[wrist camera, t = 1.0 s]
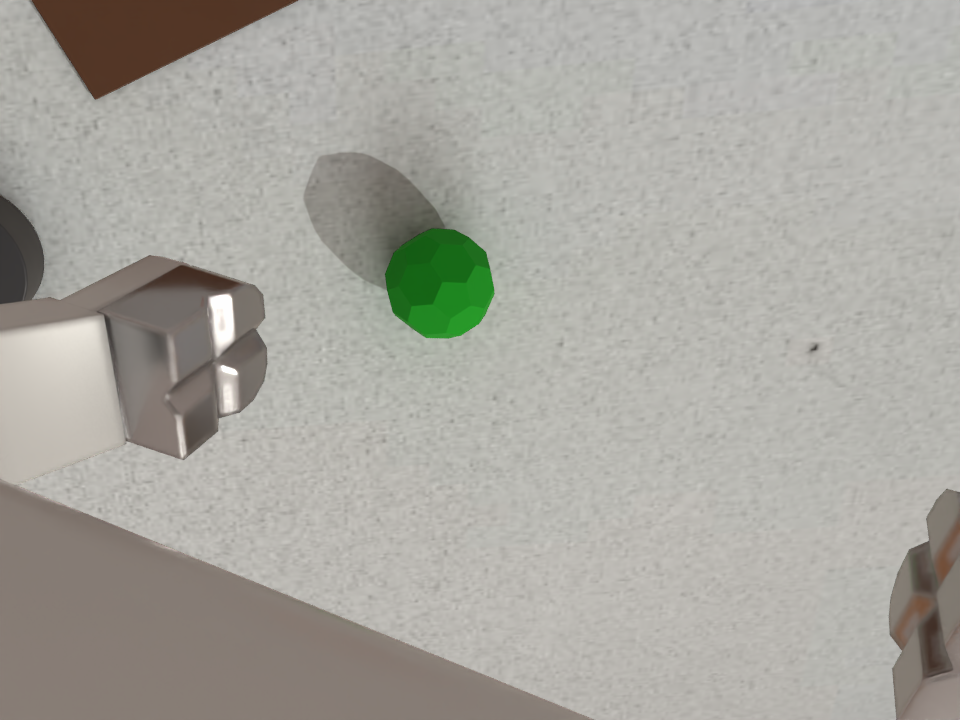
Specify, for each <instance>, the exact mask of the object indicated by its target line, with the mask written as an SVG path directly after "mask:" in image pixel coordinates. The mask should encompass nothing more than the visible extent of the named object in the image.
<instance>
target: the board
mask: <svg viewBox="0 0 960 720" xmlns="http://www.w3.org/2000/svg"><path fill="white" fill-rule="evenodd" d="M296 1H298V0H32V2H33V3H34V5H35V7H36V8H37V10H38V11H39V13H40V14H41V16H42V17H43V19H44V21H45V22H46V24H47V25H48V27H49V28H50V30H51V32H52V33H53V35H54V36H55V38H56V39H57V41H58V42H59V44H60V46H61V47H62V49H63V50H64V52H65V53H66V55H67V57H68V58H69V60H70V61H71V63H72V64H73V66H74V67H75V69H76V71H77V72H78V74H79V75H80V77H81V78H82V80H83V82H84V83H85V85H86V86H87V88H88V89H89V91H90V92H91V94H92V96H93V97H94V99H95V100H96V99H98V98H100V97H102V96H105V95H107V94H109V93H111V92H113V91H115V90H117V89H119V88H121V87H123V86H125V85H127V84H129V83H131V82H133V81H135V80H137V79H139V78H141V77H143V76H145V75H147V74H149V73H151V72H153V71H156V70H158V69H160V68H162V67H164V66H166V65H168V64H170V63H172V62H174V61H176V60H178V59H180V58H182V57H184V56H186V55H188V54H190V53H192V52H194V51H196V50H198V49H200V48H202V47H204V46H206V45H209V44H211V43H213V42H215V41H217V40H219V39H221V38H223V37H225V36H227V35H229V34H231V33H233V32H235V31H237V30H239V29H241V28H243V27H245V26H247V25H249V24H251V23H253V22H255V21H257V20H260V19H262V18H264V17H266V16H268V15H270V14H272V13H274V12H276V11H278V10H280V9H282V8H284V7H286V6H288V5H290V4H292V3H294V2H296Z"/></svg>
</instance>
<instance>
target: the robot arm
mask: <svg viewBox="0 0 960 720" xmlns="http://www.w3.org/2000/svg"><path fill="white" fill-rule="evenodd" d="M264 319H265V309H264V299H263V294H262V293H261V292H260V291H259V289H258V288H257V287H256V286H255V285H253V284H249V283H246V282H243V281H240V280H237V279H234V278H230V277H227V276H224V275H221V274H218V273H215V272H211V271H208V270H205V269H202V268H199V267H196V266H190V265H189V264H187V263H184V262H180V261H176V260H173V259H169V258H165V257H160V256H151V255H149V256H147V257H145V258H143V259H141V260H139V261H137V262H135V263H133V264H131V265H129V266H127V267H125V268H123V269H121V270H119V271H117V272H115V273H113V274H111V275H109V276H107V277H105V278H103V279H101V280H99V281H97V282H95V283H93V284H91V285H89V286H87V287H85V288H83V289H81V290H79V291H77V292H75V293H73V294H71V295H69V296H67V297H65V298H63V299H61V300H57V299H54V298H51V297H48V298H41V299H34V300H27V301H20V302H13V303H6V304H0V720H594V719H592V718H589V717H587V716H584V715H582V714H579V713H577V712H574V711H572V710H570V709H567V708H565V707H562V706H560V705H557V704H555V703H552V702H550V701H547V700H545V699H543V698H540V697H538V696H535V695H533V694H530V693H528V692H525V691H523V690H520V689H518V688H516V687H513V686H511V685H508V684H506V683H503V682H501V681H498V680H496V679H494V678H491V677H489V676H486V675H484V674H481V673H479V672H476V671H474V670H471V669H469V668H466V667H464V666H461V665H459V664H456V663H454V662H452V661H449V660H447V659H444V658H442V657H439V656H437V655H434V654H432V653H429V652H427V651H424V650H422V649H419V648H417V647H414V646H412V645H409V644H407V643H405V642H402V641H400V640H397V639H395V638H392V637H390V636H387V635H385V634H382V633H380V632H377V631H375V630H372V629H370V628H367V627H365V626H362V625H360V624H358V623H355V622H353V621H350V620H348V619H345V618H343V617H340V616H338V615H335V614H333V613H330V612H328V611H325V610H323V609H320V608H318V607H315V606H313V605H311V604H308V603H306V602H303V601H301V600H298V599H296V598H293V597H291V596H288V595H286V594H283V593H281V592H278V591H276V590H273V589H271V588H268V587H266V586H264V585H261V584H259V583H256V582H254V581H251V580H249V579H246V578H244V577H241V576H239V575H236V574H234V573H231V572H229V571H226V570H224V569H222V568H219V567H217V566H214V565H212V564H209V563H207V562H204V561H202V560H199V559H197V558H194V557H192V556H189V555H187V554H184V553H182V552H180V551H177V550H175V549H172V548H170V547H167V546H165V545H162V544H160V543H157V542H155V541H152V540H150V539H147V538H145V537H143V536H140V535H138V534H135V533H133V532H130V531H128V530H125V529H123V528H120V527H118V526H115V525H113V524H110V523H108V522H105V521H103V520H101V519H98V518H96V517H93V516H91V515H88V514H86V513H83V512H81V511H78V510H76V509H73V508H71V507H68V506H66V505H64V504H61V503H59V502H56V501H54V500H51V499H49V498H46V497H44V496H41V495H39V494H36V493H34V492H31V491H29V490H27V489H24V488H22V487H19V486H17V485H18V484H21V483H24V482H26V481H29V480H32V479H34V478H37V477H40V476H42V475H45V474H48V473H50V472H53V471H56V470H58V469H61V468H64V467H66V466H69V465H72V464H74V463H77V462H80V461H82V460H85V459H88V458H90V457H93V456H96V455H99V454H101V453H104V452H107V451H109V450H112V449H115V448H117V447H120V446H123V445H125V444H126V441H128V442H131V443H134V444H137V445H140V446H143V447H146V448H149V449H152V450H155V451H158V452H161V453H164V454H167V455H170V456H173V457H176V458H179V459H182V460H185V459H186V458H187V457H188V456H189V455H190V454H192V453H193V452H194V451H195V450H196V449H198V448H199V447H200V446H201V445H202V444H203V443H205V442H206V441H207V440H208V439H209V438H211V437H212V436H213V435H214V434H215V433H216V432H218V425H219V418H222V417H225V416H229V415H232V414H236V413H240V412H241V411H242V410H243V409H244V408H245V407H247V406H248V405H249V404H250V403H251V402H252V401H253V400H254V399H255V397H256V395H257V393H258V391H259V389H260V388H261V386H262V384H263V382H264V379H265V374H266V368H267V347H266V345H265V344H264V342H263V340H262V339H261V337H260V335H259V334H258V332H257V330H256V329H257V328H258V326H259V325H260V324H261V323H262V321H263V320H264ZM926 521H927V528H928V536H929V541H928V542H925V543H923V544H921V545H918V546H916V547H914V548H912V549H909V551H908V553H907V555H906V557H905V559H904V561H903V563H902V565H901V567H900V569H899V571H898V573H897V577H896V580H895V584H894V587H893V591H892V594H891V599H890V609H889V629H890V636H891V637H892V638H893V640H894V641H895V642H896V643H897V645H898V646H899V647H900V649H901V650H902V653H901V654H900V656H899V658H898V660H897V661H896V663H895V665H894V667H893V668H892V672H893V684H894V696H895V708H896V720H960V492H957V491H953V490H949V489H946V490H945V491H944V492H943V493H942V494H941V495H940V496H939V498H938V499H937V500H936V502H935V503H934V505H933V507H932V509H931V510H930V512H929V514H928V516H927V518H926Z"/></svg>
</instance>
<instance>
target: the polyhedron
mask: <svg viewBox="0 0 960 720" xmlns="http://www.w3.org/2000/svg"><path fill="white" fill-rule="evenodd" d="M385 277H386V285H387V291H388V295H389V299H390V303H391V307H392V311H393V313H394V314H395V315H396V316H397V317H398V318H399V319H401V320H402V321H403V322H405V323H406V324H407V325H409V326H410V327H411V328H412V329H414V330H415V331H417V332H418V333H420V334H421V335H423V336H424V337H426V338H452V337H456V336H461V335H462V334H464V333H465V332H467V331H469V330H470V329H472V328H473V327H475V326H476V325H478V324H479V323H480V322H481V320H482V319H483V317H484V316H485V314H486V312H487V309H488V307H489V305H490V303H491V300H492V298H493V296H494V286H493V281H492V276H491V271H490V266H489V262H488V258H487V254H486V252H485V251H484V250H483V249H482V248H481V247H479V246H478V245H477V244H476V243H475V242H474V241H473V240H471V239H470V238H469V237H467V236H465V235H463V234H461V233H460V232H458V231H456V230H450V229H433V228H432V229H430V230H427V231H425V232H423V233H421V234H419V235H417V236H416V237H414V238H413V239H411V240H410V241H408V242H406V243H405V244H403V245H402V246H401V247H400V248H399V249H397V250H396V251H395V252H394V253H393V256H392V258H391V261H390V263H389V266H388V268H387V271H386V273H385Z"/></svg>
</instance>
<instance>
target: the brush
mask: <svg viewBox="0 0 960 720" xmlns="http://www.w3.org/2000/svg"><path fill="white" fill-rule="evenodd" d="M43 271H44V255H43V249H42V246H41V243H40V240H39V238H38V236H37V233H36V231H35V230H34V228H33V226H32V225H31V223H30V222H29V221H28V219H27V218H26V217H25V216H24V215H23V214H22V213H21V212H20V211H19V210H18V209H17V208H16V207H15V206H14V205H12V204H11V203H10V202H8V201H7V200H6V199H4V198H2V197H1V196H0V304H6V303H13V302H20V301H27V300H32V298H33V297H34V295H35V294H36V292H37V290H38V288H39V286H40V284H41V281H42V277H43Z"/></svg>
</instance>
